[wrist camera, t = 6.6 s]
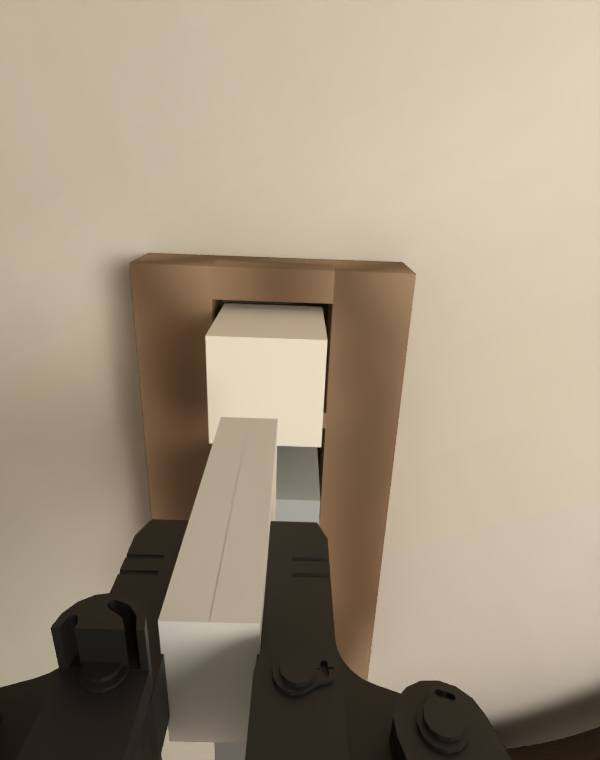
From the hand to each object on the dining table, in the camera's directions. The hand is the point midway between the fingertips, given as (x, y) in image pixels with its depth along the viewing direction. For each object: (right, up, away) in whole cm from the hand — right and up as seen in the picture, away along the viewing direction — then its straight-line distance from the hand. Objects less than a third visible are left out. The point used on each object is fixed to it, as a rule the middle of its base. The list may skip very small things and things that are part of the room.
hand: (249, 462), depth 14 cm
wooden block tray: (0, -4, +15) cm, 16 cm away
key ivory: (0, +4, +10) cm, 11 cm away
